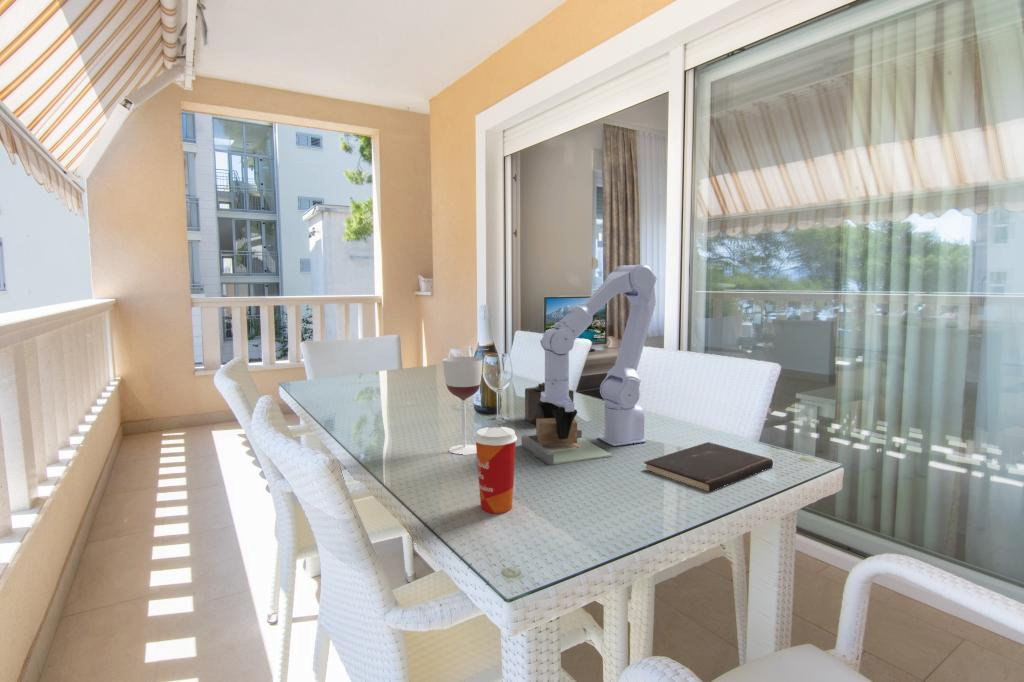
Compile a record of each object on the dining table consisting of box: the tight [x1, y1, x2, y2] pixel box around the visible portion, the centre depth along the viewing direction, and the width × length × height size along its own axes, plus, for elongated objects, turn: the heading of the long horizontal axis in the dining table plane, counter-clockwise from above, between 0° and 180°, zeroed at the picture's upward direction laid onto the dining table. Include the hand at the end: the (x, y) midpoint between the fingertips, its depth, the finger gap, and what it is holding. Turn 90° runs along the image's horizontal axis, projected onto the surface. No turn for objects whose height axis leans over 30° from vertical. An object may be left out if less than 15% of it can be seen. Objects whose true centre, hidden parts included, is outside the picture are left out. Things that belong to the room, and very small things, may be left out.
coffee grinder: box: [524, 382, 574, 425], centre depth 156 cm, size 16×11×18 cm
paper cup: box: [473, 426, 518, 515], centre depth 99 cm, size 8×8×14 cm
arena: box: [521, 428, 613, 466], centre depth 132 cm, size 16×16×2 cm
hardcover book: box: [643, 441, 774, 493], centre depth 119 cm, size 16×23×2 cm
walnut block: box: [535, 418, 578, 445], centre depth 133 cm, size 9×5×5 cm, turn 95°
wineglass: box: [442, 356, 483, 456], centre depth 132 cm, size 9×10×22 cm
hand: (556, 434), depth 133 cm, fingers closed on walnut block, 6 cm apart
